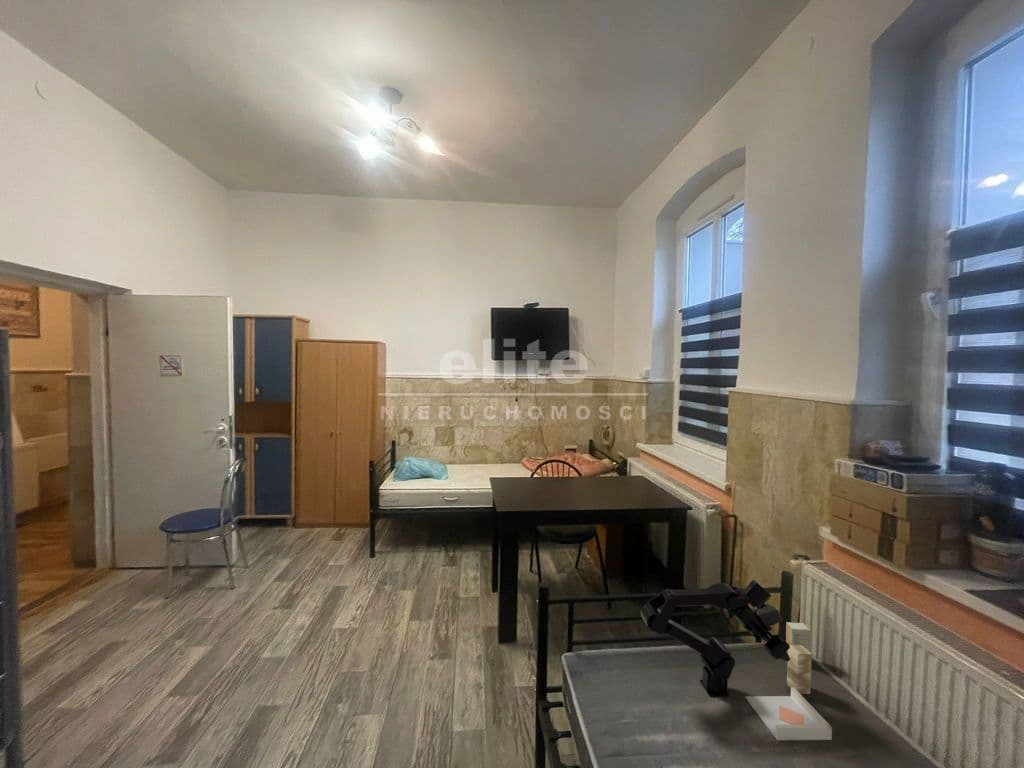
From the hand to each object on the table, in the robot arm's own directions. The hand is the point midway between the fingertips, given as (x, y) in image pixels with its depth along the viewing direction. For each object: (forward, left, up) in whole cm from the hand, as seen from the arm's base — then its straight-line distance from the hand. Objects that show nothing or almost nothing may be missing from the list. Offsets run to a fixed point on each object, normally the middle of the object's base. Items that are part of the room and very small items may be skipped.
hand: (779, 650), depth 135 cm
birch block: (+7, 0, -13) cm, 14 cm away
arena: (-5, -11, -13) cm, 18 cm away
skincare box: (+17, +14, -13) cm, 25 cm away
